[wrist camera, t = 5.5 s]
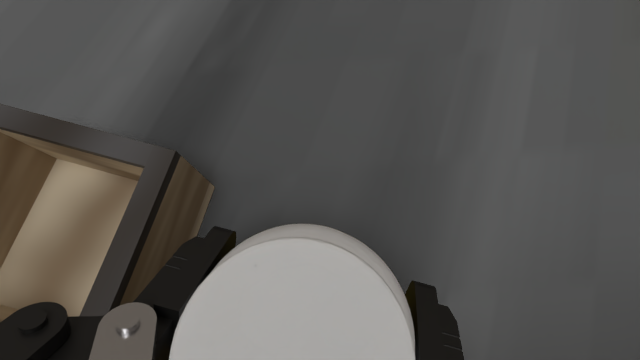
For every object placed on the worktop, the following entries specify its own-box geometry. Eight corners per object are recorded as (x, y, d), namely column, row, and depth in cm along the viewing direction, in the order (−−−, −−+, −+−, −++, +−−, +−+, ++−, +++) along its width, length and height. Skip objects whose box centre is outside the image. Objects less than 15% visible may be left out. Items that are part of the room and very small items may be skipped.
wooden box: (214, 187, 21) (175, 150, 15) (148, 365, 18) (69, 406, 12) (61, 145, 21) (-35, 94, 16) (-25, 312, 19) (-180, 326, 13)
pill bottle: (262, 235, 18) (180, 171, 7) (380, 258, 18) (472, 227, 7) (231, 366, 16) (68, 526, 6) (361, 394, 16) (445, 619, 5)
